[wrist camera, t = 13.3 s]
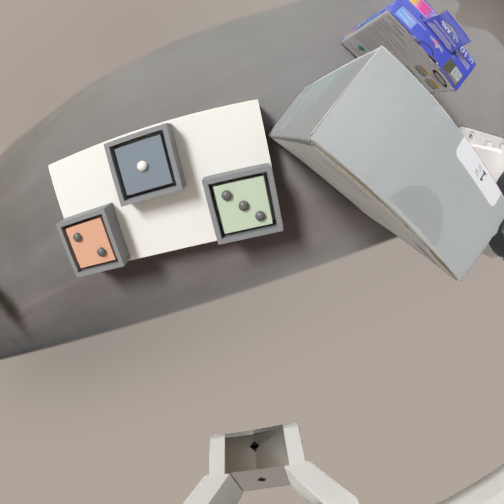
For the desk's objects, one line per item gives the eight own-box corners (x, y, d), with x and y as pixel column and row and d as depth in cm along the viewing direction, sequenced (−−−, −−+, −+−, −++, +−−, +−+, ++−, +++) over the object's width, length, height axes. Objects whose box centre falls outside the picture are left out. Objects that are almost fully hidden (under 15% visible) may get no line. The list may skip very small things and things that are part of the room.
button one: (164, 133, 29) (159, 134, 27) (176, 179, 31) (171, 183, 29) (121, 147, 29) (113, 149, 27) (133, 191, 31) (126, 196, 29)
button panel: (255, 101, 31) (259, 96, 26) (279, 218, 36) (286, 233, 31) (60, 162, 32) (36, 169, 27) (93, 261, 37) (76, 280, 32)
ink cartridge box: (417, 74, 30) (494, 64, 17) (395, 99, 31) (472, 95, 18) (364, 18, 27) (427, -22, 14) (338, 42, 28) (397, 3, 15)
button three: (261, 172, 31) (263, 176, 29) (270, 217, 33) (273, 224, 31) (214, 183, 31) (212, 187, 29) (225, 227, 33) (224, 234, 31)
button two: (107, 212, 31) (99, 218, 29) (121, 252, 33) (114, 260, 31) (73, 223, 32) (64, 229, 29) (87, 261, 34) (79, 269, 31)
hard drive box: (397, 166, 35) (512, 211, 16) (362, 212, 37) (459, 289, 19) (303, 84, 30) (384, 42, 12) (263, 135, 33) (304, 145, 14)
